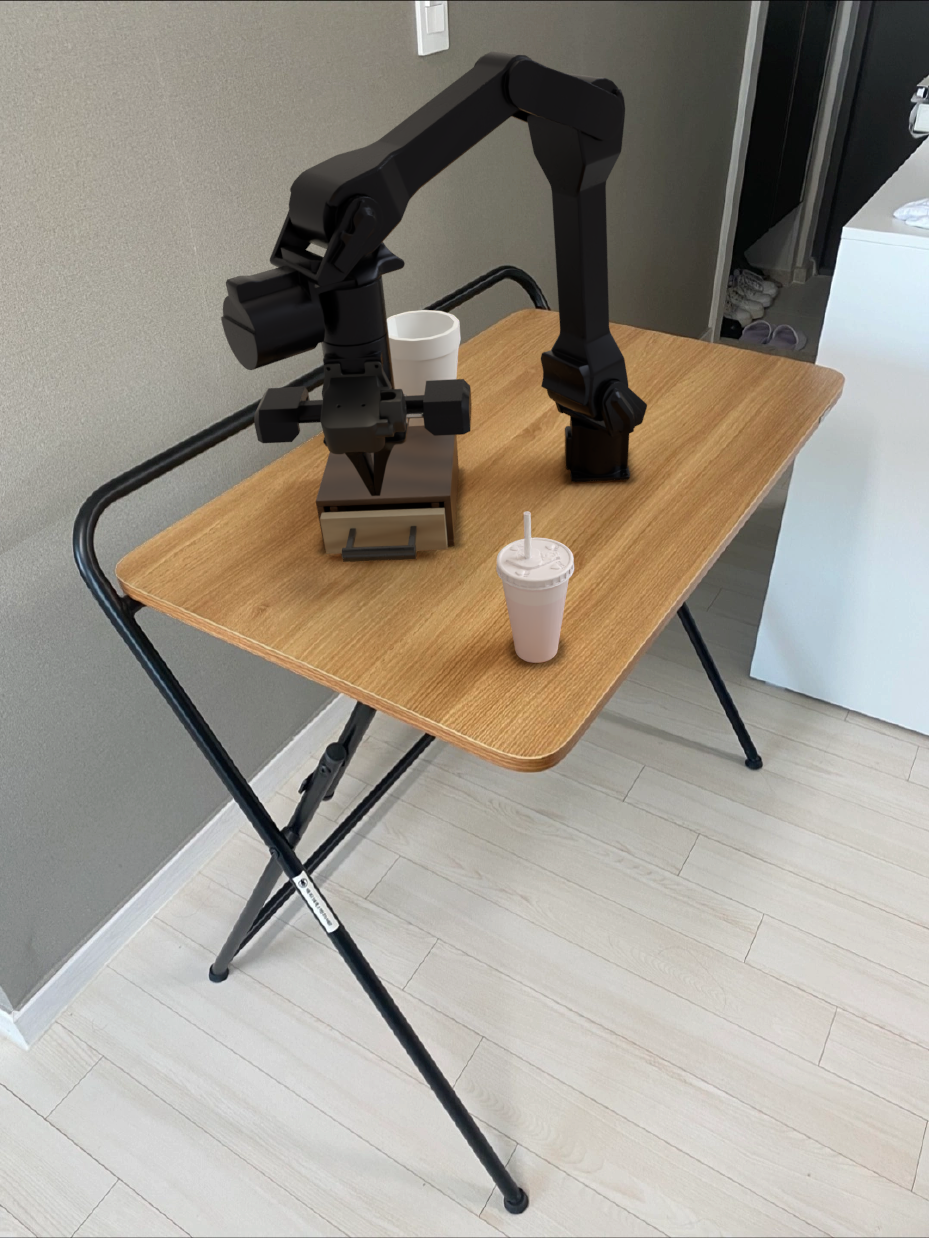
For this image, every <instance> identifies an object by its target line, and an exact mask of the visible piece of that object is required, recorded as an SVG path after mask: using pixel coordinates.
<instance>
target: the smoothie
mask: <svg viewBox="0 0 929 1238" xmlns="http://www.w3.org/2000/svg"><path fill="white" fill-rule="evenodd" d="M531 517H532V514H531V512H530V511H528V510H527V511H524V512H523V538H521V539H516V540H514V541H512V542H510V543H508V544H506V545H505V546H504V547H502V548H501V549H500V550H499V552H498V554H497V556H496V567H495V568H496V573H497V576H498V577H499V579H500V580H501V583H502V589H503V594H504V598H505V603H506V608H507V614H508V619H509V625H510V628H511V634H512V639H513V644H514V650H515V653H516V655H517V656H518V657H519V659H521V660H523V661H525V662H528V663H534V664H538V663H539V664H540V663H545V662H548V661H550V660H552V659H553V658H554V657H555V656H557V653H558V651H559V650H558V649H559V644H560V636H561V632H562V631H561V630H562V625H563V618H564V612H565V605H566V598H567V593H568V587H569V580H570V578H571V577H572V576H573V575H574V572H575V562H574V560H575V559H574V554H573V552H572V550H571V549H570V548H569V547H568V546H567V545H566V544H564V543H562V542H560V541H558V540H555V539H551V538H546V537H537V536H536V537H532V518H531Z"/></svg>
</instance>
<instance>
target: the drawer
mask: <svg viewBox="0 0 929 1238" xmlns="http://www.w3.org/2000/svg"><path fill="white" fill-rule="evenodd" d="M320 522H321V527H322V533H323V538H324V544H325V549H326V550H325V554H326V555H340V554H341V561H342V563H360V562H361V563H364V562H387V561H415V560H417V559H418V552H422V551H423V552H425V551H446V550H448V546H447V545H448V542H447V530H446V519H445V508H444V502H424V503H399V504H374V505H348V506H330V512H326V513H322V514H321V517H320ZM324 544H323V545H324Z"/></svg>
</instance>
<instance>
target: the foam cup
mask: <svg viewBox="0 0 929 1238" xmlns="http://www.w3.org/2000/svg"><path fill="white" fill-rule="evenodd" d="M387 325H388V333H389V342H390V351H391V360H392V368H393V377H394V386H395V389H402V391H403V393H404V394H406V395H407V396H415V395H424V393H425V385H426V381H431V380H452V379H458V378H457V377H458V376H457V375H458V364H459V363H458V360H459V348H460V343H461V326H460V320H459V318H457V317H456V315H454V314H452V313H448V312H446V311H443V310H429V309H420V310H410V311H404V312H400V313H398V314H394V315H391V316H389V317H387ZM409 426H424V418H410V420H409Z"/></svg>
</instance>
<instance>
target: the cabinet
mask: <svg viewBox="0 0 929 1238" xmlns="http://www.w3.org/2000/svg"><path fill="white" fill-rule="evenodd" d="M457 439H458V438H457V435H441V436H434V435H433V434H431V433H430V432H429V431H428V430H426V429H425V427H424V426H409V427H408V433H407V439H406V441H405V442H404V443H403V444H396V445H394V447H393V448H392V451H391V453H390V456H389V458H388V461H387V465H386V469H385V474H384V479H383V484H382V489H381V494H380V496H371V494H370V493H369V491H368V489H367V487H366V486H365V484H364V482H363V480H362V479H361V477H360V475H359V474H358V472H357V470H356V468H355V467H354V465H353V464H352V462H351V461H350V459H349V458H348V457H347V456H346V454H345V453H344V454H333V453H331V452H330V451H329V453H328V456H327V460H326V464H325V466H324V470H323V474H322V477H321V481H320V484H319V488H318V492H317V494H316V499H315V506H316V511H317V517H318V522H319V528H320V533H321V539H322V545H323V548H324V549H323V550H324V551H326V549H325V544H324V538H323V533H322V527H321V522H320V517H321V514H322V513H326V512H330V506H348V505H374V504H399V503H424V502H444V508H445V519H446V530H447V542H448V545H447V547H450V546H455V541H456V526H457V511H458V510H457V509H458V494H459V492H458V491H459V477H460V476H459V475H460V467H459V451H458V440H457ZM371 456H372V460H373V465H374V453H371Z"/></svg>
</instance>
